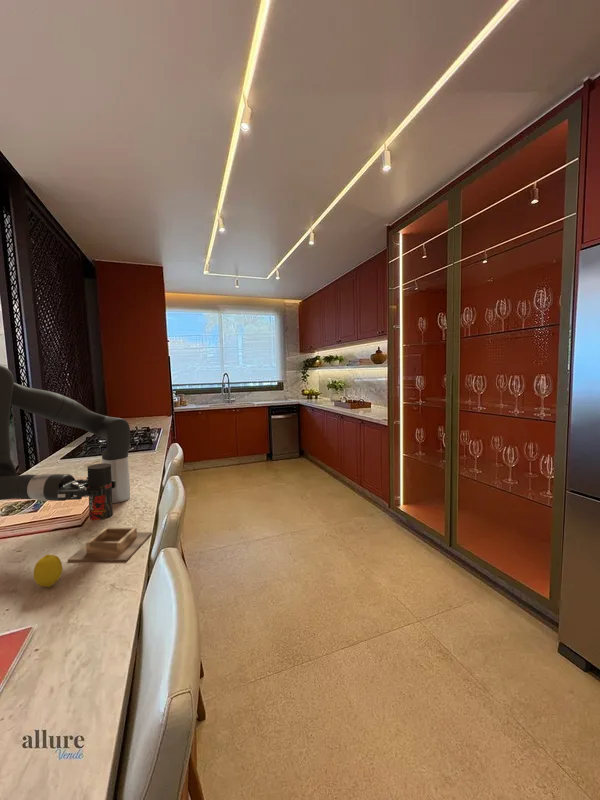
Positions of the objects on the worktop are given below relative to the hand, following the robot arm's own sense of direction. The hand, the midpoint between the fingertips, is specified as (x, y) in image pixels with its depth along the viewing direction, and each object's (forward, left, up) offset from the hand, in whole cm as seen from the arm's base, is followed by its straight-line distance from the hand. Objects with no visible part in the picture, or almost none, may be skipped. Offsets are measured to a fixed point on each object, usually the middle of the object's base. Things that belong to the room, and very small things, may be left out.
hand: (108, 488), depth 100 cm
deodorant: (0, -3, -9) cm, 9 cm away
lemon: (+19, -4, -18) cm, 27 cm away
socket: (0, +1, -18) cm, 18 cm away
